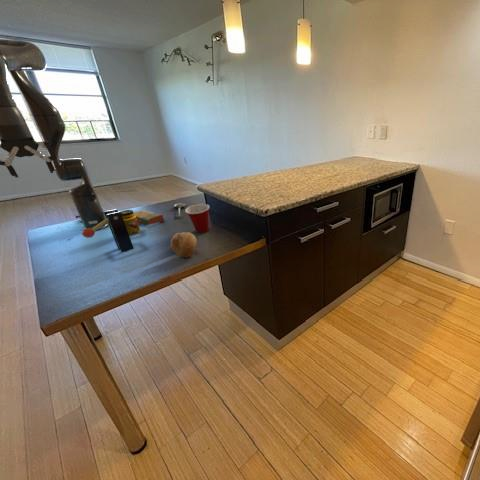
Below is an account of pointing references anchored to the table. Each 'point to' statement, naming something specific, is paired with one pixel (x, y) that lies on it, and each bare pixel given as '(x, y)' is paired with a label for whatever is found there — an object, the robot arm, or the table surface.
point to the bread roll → (183, 244)
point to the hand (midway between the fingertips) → (35, 174)
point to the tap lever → (93, 229)
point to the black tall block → (119, 230)
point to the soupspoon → (179, 208)
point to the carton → (148, 217)
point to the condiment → (130, 222)
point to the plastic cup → (199, 217)
